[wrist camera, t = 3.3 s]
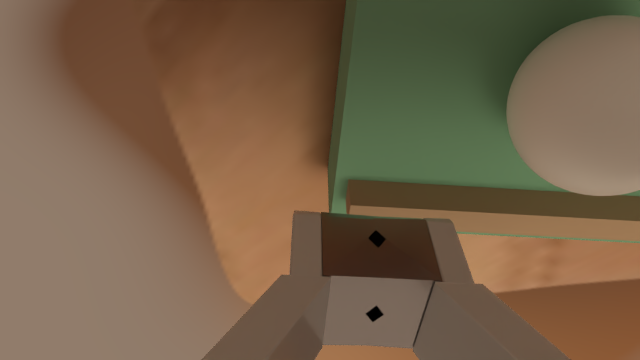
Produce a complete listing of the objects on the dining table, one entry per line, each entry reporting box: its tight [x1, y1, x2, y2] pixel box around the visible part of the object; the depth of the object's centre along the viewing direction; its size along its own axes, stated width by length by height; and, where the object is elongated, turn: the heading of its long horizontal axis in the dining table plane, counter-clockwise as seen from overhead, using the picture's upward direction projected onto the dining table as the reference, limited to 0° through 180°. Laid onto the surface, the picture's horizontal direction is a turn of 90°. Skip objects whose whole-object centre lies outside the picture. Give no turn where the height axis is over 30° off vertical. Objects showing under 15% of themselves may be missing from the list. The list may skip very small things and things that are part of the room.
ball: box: [506, 15, 640, 196], centre depth 14 cm, size 5×5×5 cm
